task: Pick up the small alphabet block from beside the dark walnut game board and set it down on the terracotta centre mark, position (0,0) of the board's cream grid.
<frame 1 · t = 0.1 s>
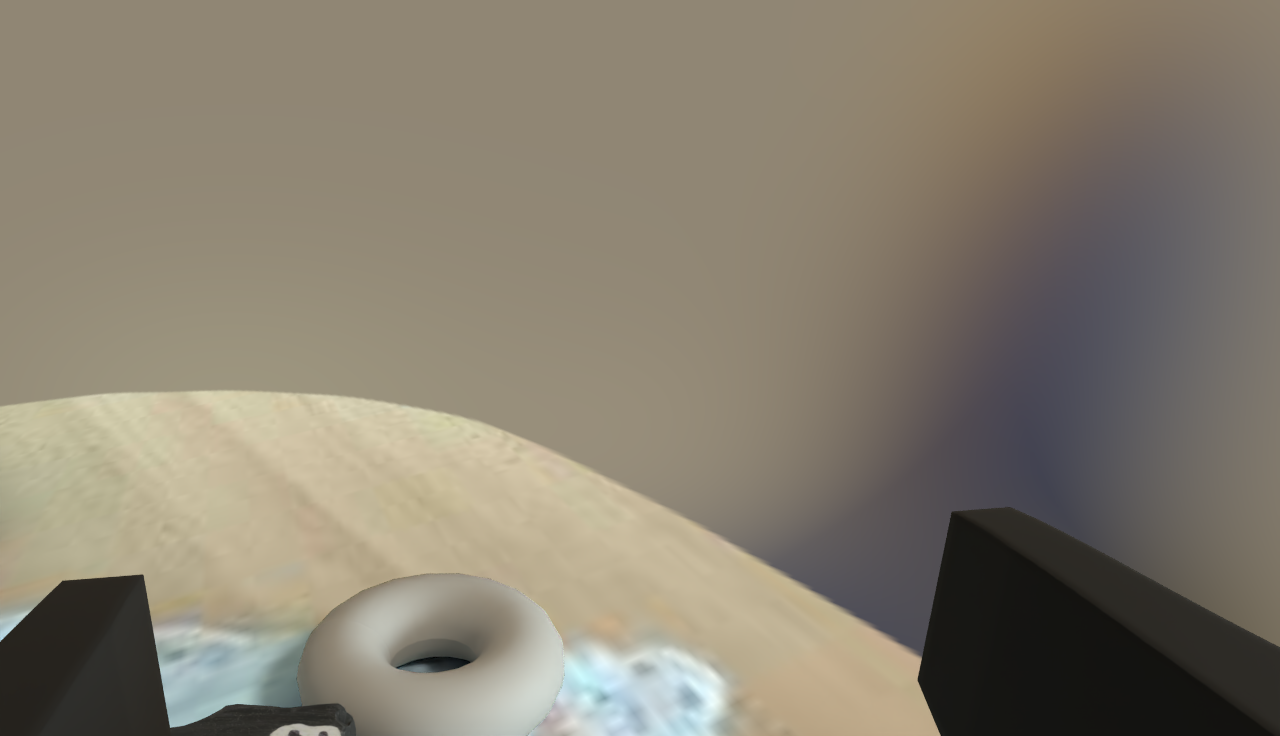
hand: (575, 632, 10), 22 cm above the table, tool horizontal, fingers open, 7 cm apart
donut: (435, 704, 42), on the table
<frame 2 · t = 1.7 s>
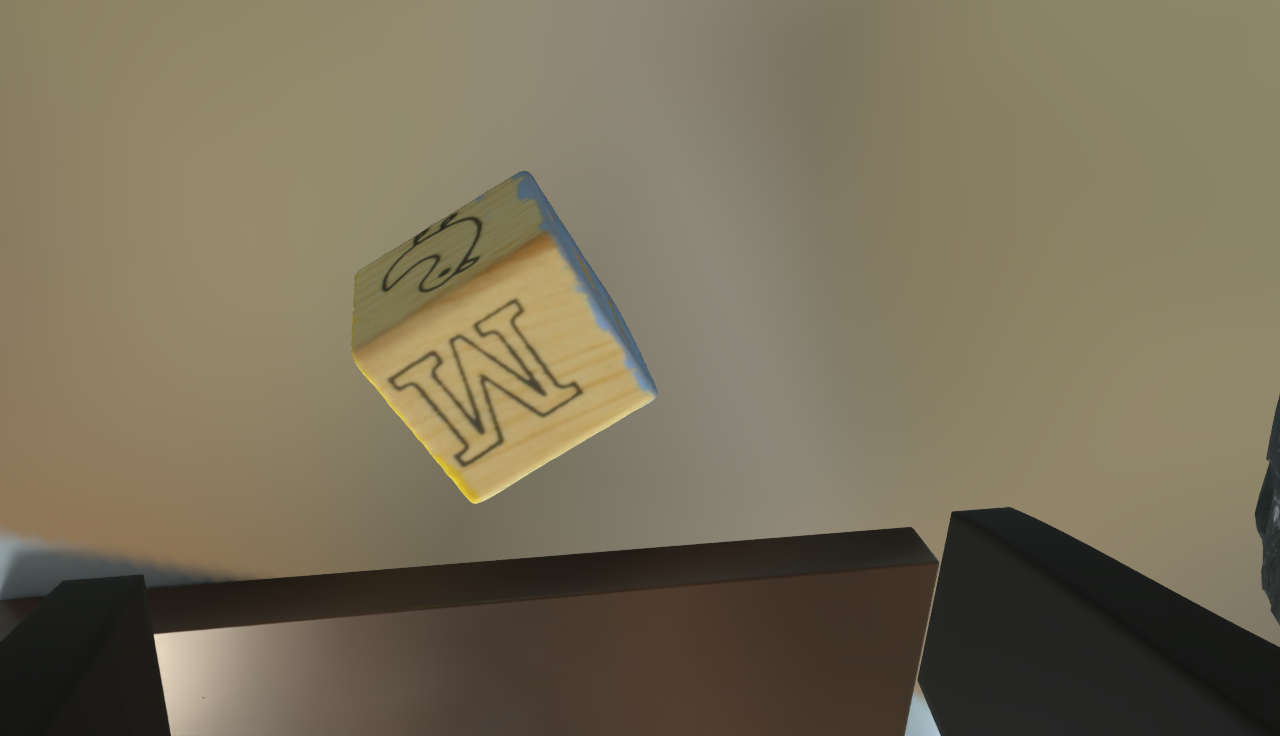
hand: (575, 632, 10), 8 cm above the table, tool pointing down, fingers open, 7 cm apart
alphabet block: (491, 290, 17), on the table
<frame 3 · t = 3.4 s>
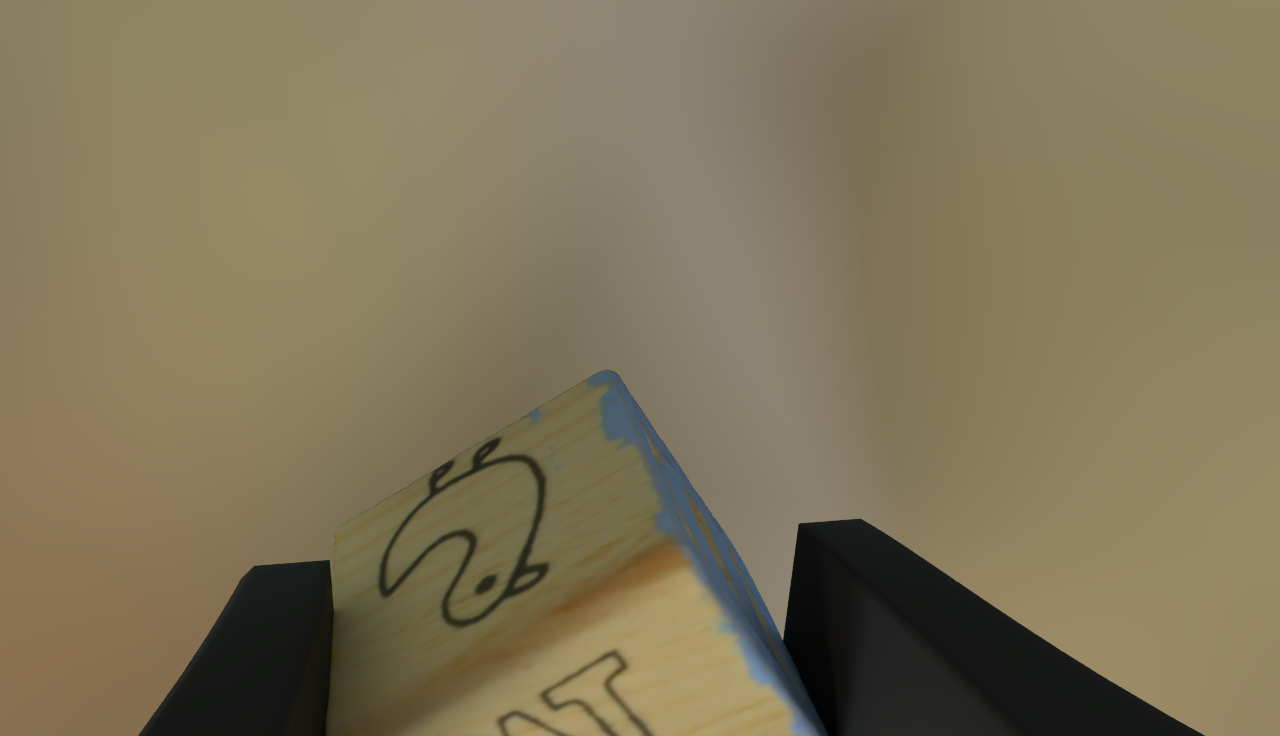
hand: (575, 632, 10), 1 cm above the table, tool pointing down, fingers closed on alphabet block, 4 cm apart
alphabet block: (547, 533, 11), on the table, touching gripper
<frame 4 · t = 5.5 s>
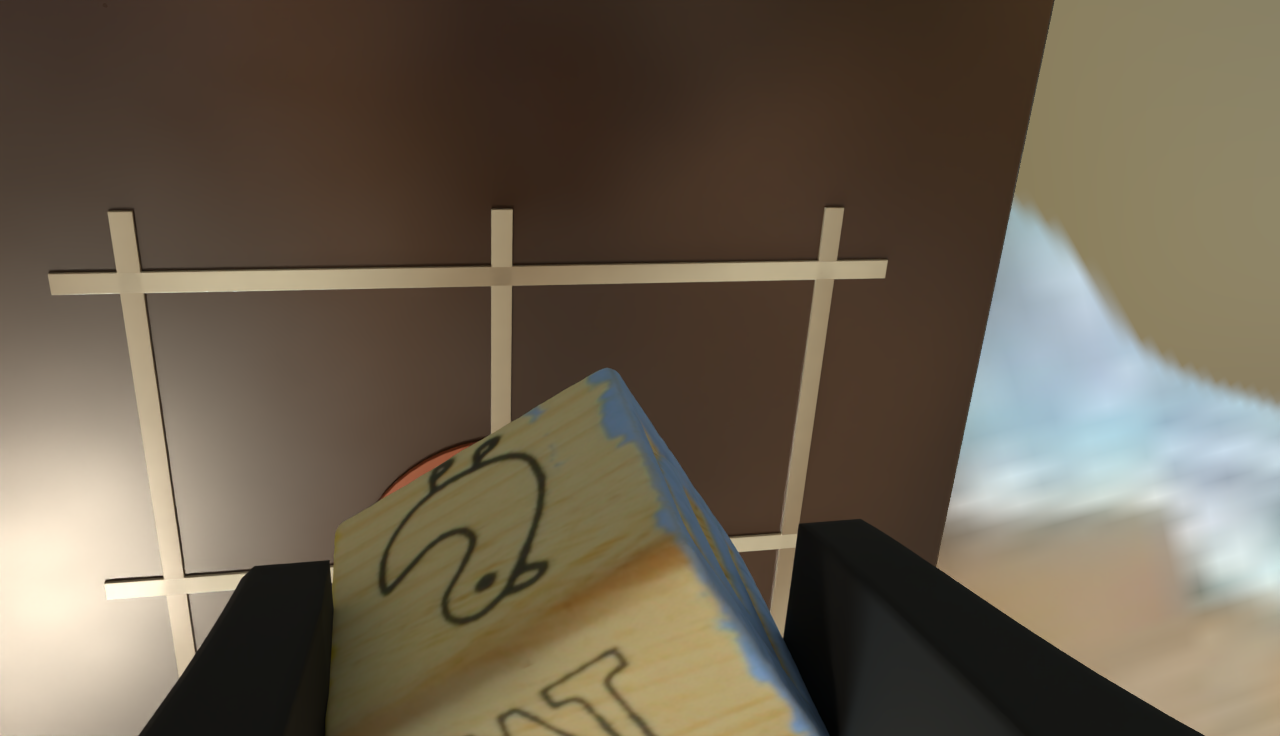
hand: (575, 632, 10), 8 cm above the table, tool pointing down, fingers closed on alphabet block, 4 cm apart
board: (493, 520, 19), on the table
alphabet block: (547, 531, 11), point 7 cm above the table, touching gripper
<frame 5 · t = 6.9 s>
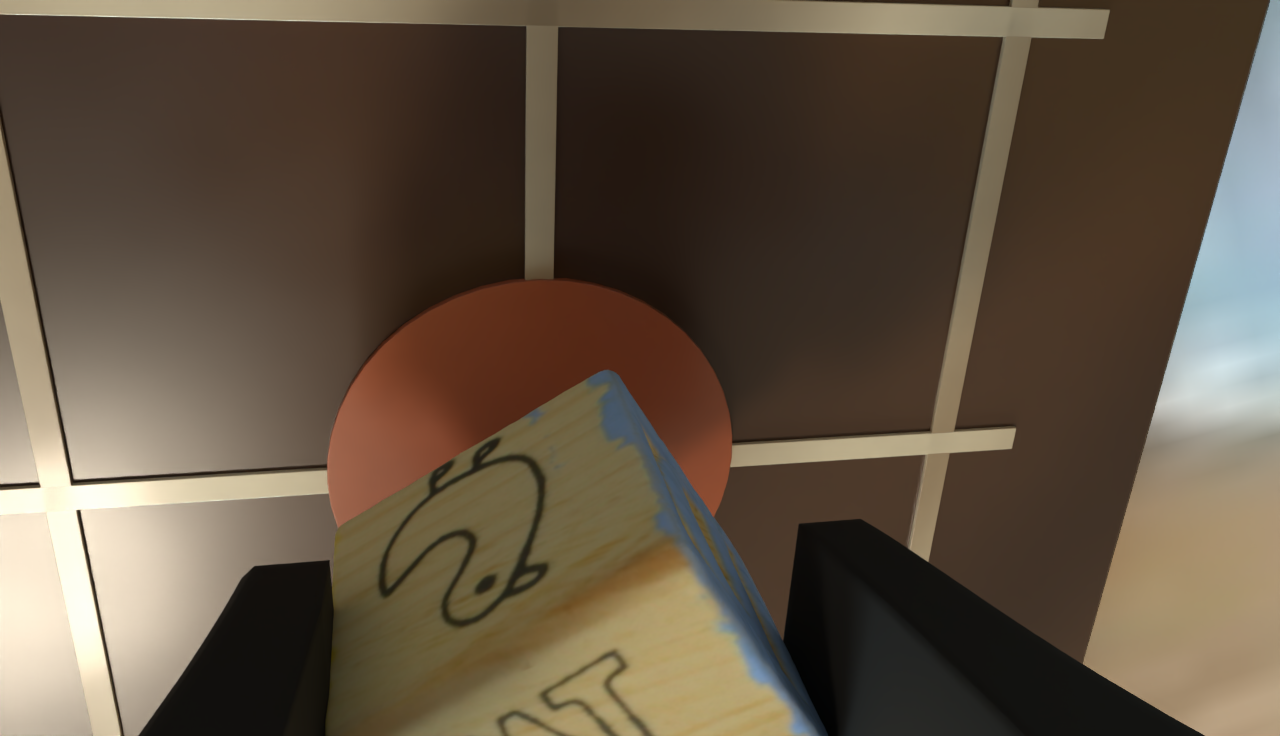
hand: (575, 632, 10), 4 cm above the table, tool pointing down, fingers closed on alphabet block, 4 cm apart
board: (524, 417, 14), on the table
alphabet block: (547, 533, 11), point 3 cm above the table, touching gripper
when the fingers open (3 cm above the table, at t = 7.8 s): alphabet block stays where it is, resting on board.
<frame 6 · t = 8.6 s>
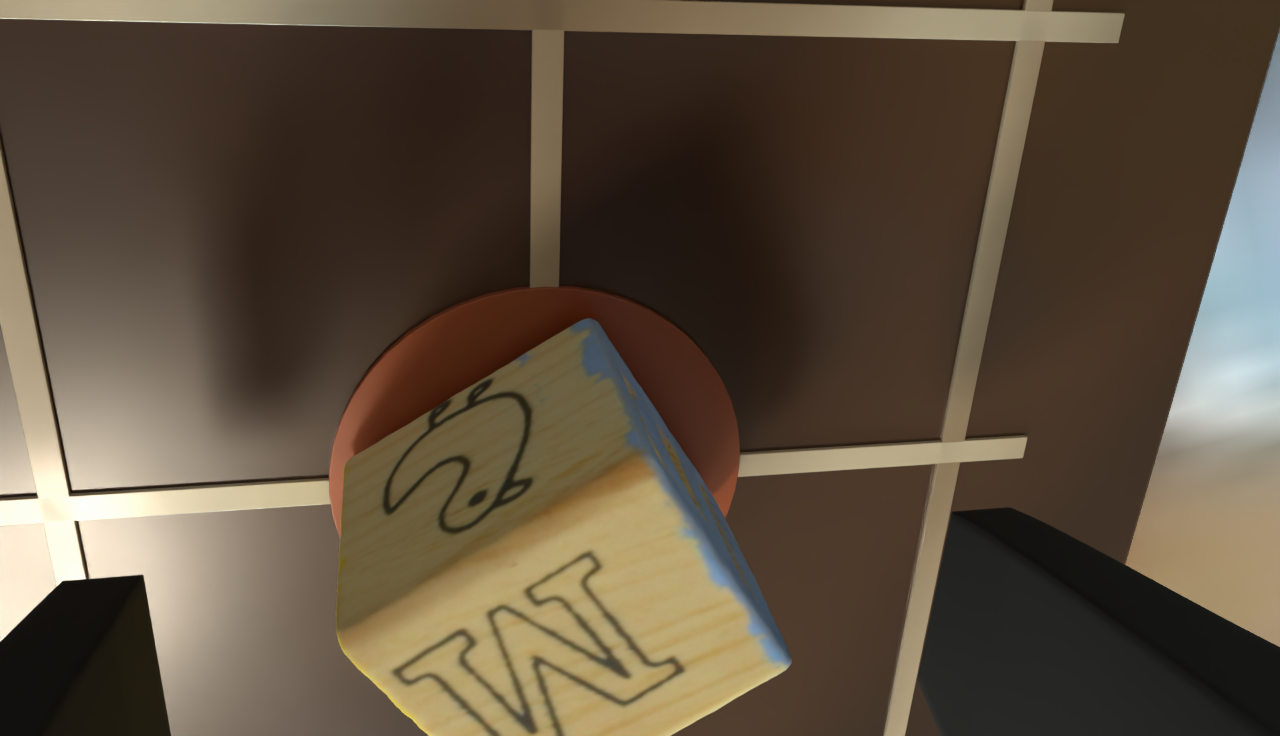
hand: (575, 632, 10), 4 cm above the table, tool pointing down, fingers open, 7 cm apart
board: (528, 425, 13), on the table
alphabet block: (536, 471, 12), point 1 cm above the table, touching board
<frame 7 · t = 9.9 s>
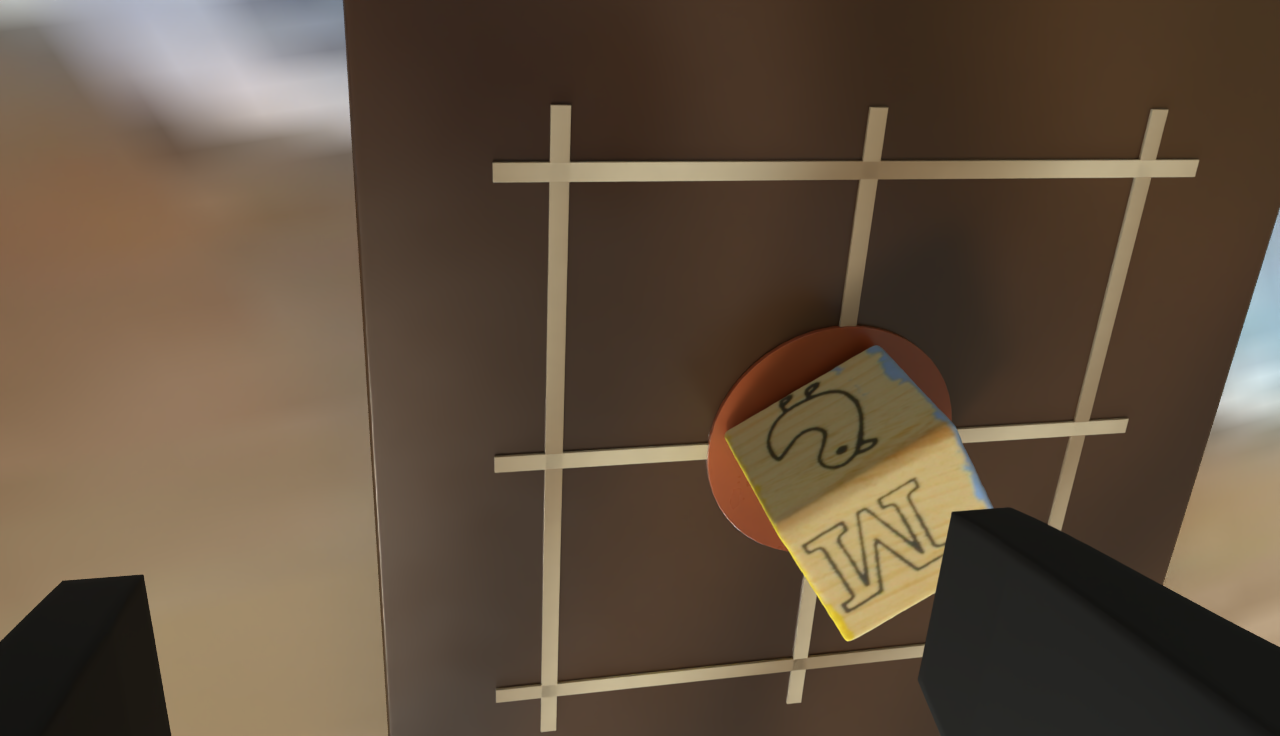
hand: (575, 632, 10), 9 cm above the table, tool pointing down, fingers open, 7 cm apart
board: (807, 411, 21), on the table
alphabet block: (825, 440, 20), point 1 cm above the table, touching board
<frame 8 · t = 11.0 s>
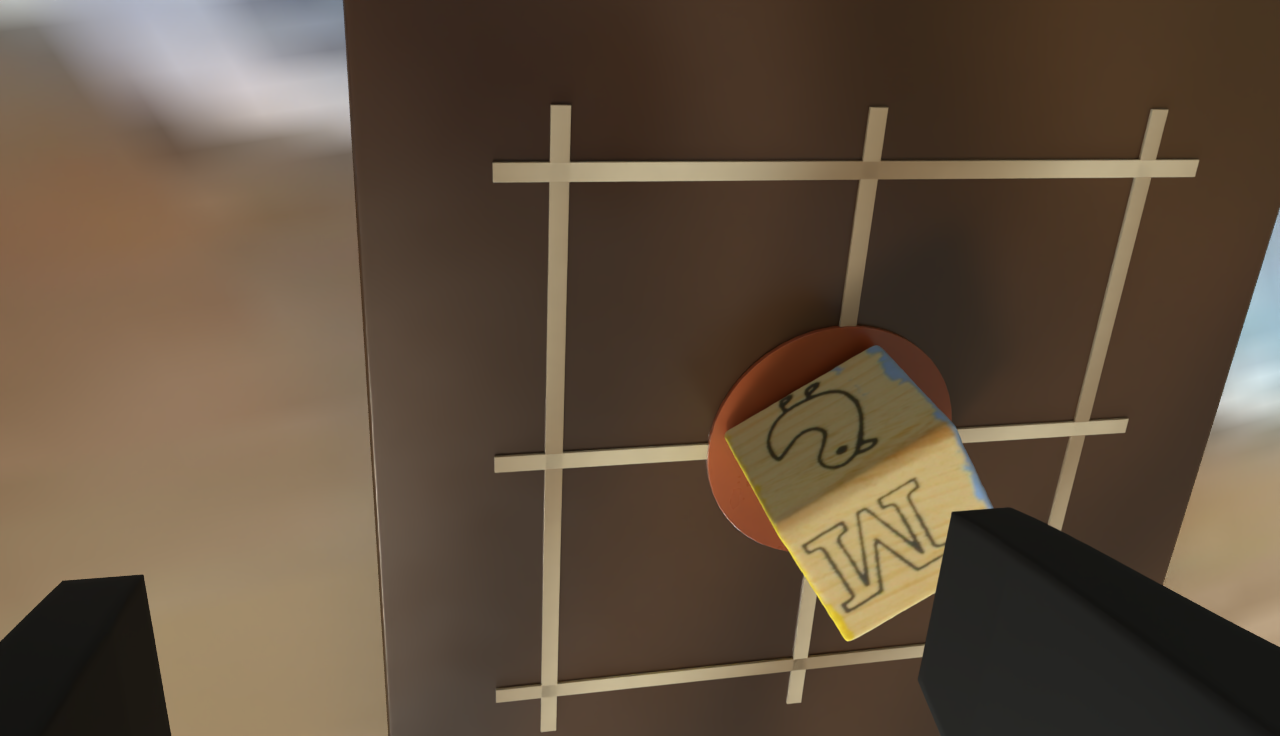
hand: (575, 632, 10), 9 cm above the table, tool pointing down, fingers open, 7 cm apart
board: (807, 411, 21), on the table
alphabet block: (825, 440, 20), point 1 cm above the table, touching board
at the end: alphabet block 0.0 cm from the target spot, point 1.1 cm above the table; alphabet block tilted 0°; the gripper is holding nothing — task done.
